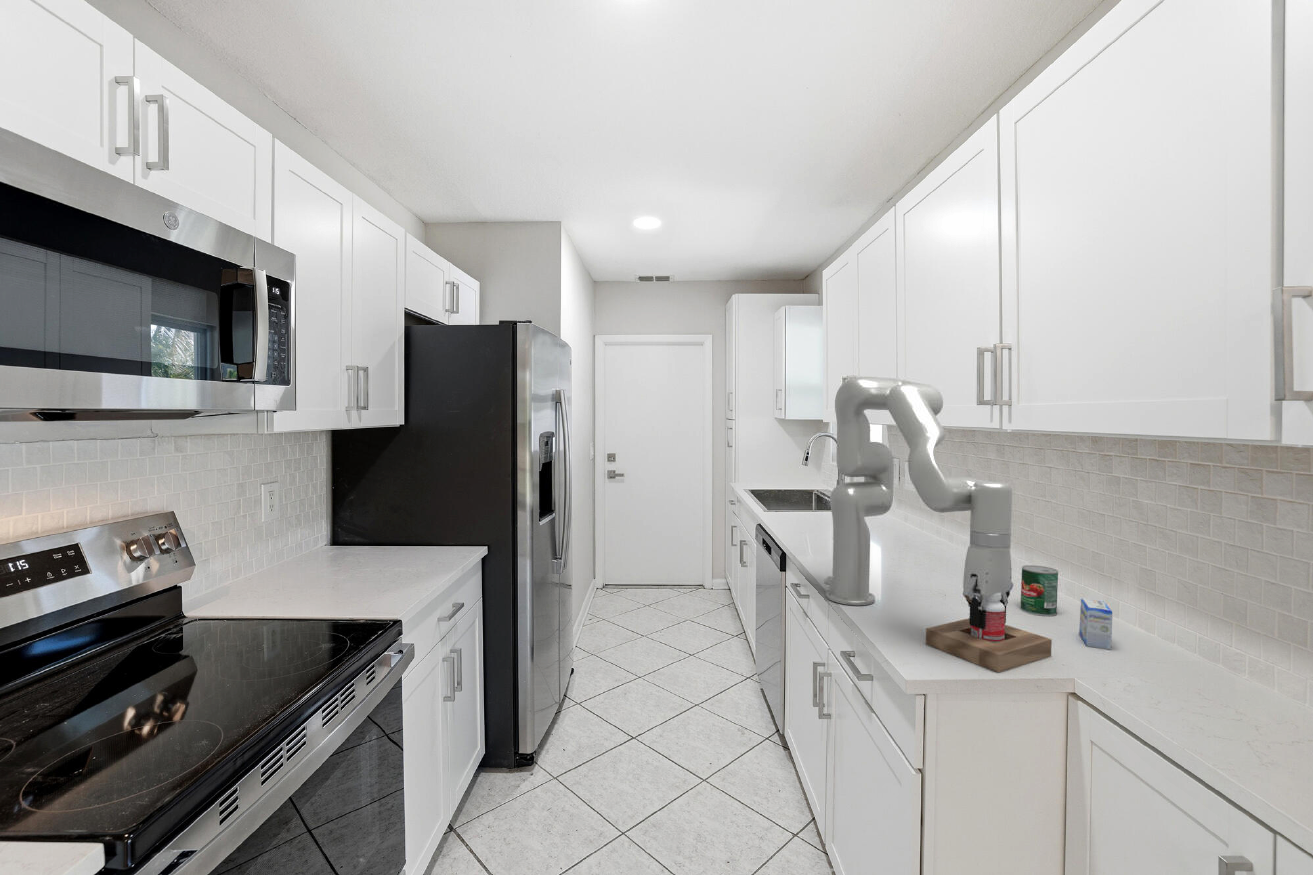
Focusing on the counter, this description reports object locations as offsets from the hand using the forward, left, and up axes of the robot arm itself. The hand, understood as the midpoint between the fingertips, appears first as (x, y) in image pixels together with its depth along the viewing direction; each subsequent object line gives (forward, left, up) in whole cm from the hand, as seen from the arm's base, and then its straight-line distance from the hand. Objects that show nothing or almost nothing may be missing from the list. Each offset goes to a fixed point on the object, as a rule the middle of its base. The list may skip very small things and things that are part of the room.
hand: (987, 623), depth 125 cm
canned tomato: (-10, +37, -6) cm, 39 cm away
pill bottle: (0, 0, -4) cm, 4 cm away
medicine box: (+8, +26, -6) cm, 28 cm away
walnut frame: (0, 0, -6) cm, 6 cm away
